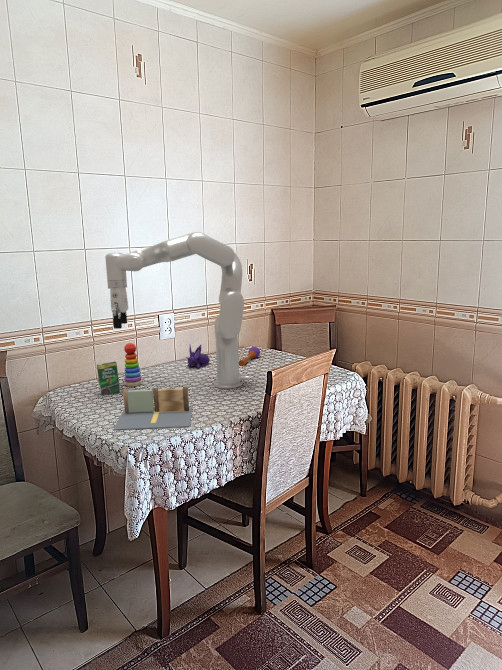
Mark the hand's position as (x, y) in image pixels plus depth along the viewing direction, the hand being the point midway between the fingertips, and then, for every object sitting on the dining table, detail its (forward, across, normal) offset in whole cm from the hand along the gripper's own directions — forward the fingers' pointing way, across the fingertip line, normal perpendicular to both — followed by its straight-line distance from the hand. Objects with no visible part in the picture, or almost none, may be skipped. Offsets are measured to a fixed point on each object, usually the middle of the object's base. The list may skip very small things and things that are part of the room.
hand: (120, 325), depth 202 cm
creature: (+29, +37, -27) cm, 54 cm away
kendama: (+29, +44, -53) cm, 75 cm away
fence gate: (+28, -24, -10) cm, 38 cm away
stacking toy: (+29, +11, -1) cm, 31 cm away
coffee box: (+29, 0, +7) cm, 30 cm away
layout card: (+29, -30, -17) cm, 45 cm away
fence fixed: (+29, -24, -22) cm, 44 cm away
